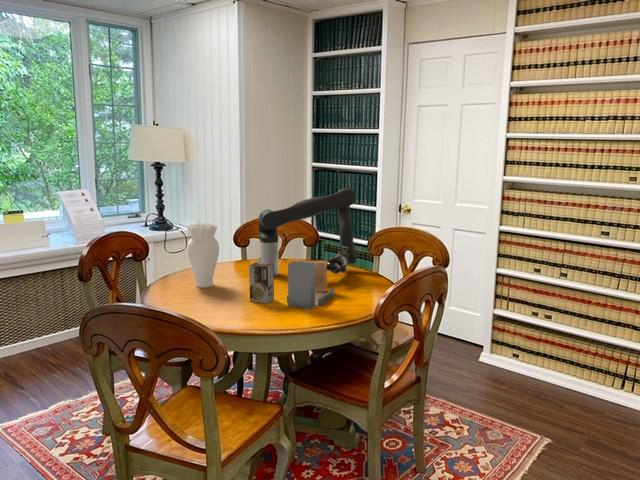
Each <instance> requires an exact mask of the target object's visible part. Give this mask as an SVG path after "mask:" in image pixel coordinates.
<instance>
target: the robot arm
mask: <svg viewBox="0 0 640 480" xmlns="http://www.w3.org/2000/svg"><path fill="white" fill-rule="evenodd" d="M356 200H357V194H356V192H355V191H354V190H353V189H351V188H341V189H338V190H337V192H335V193H332V194H329V195H328V194H327V195H322V196H315V197H310V198H307V199H304V200H303V199H302V200H301V201H299V202H296V203H294V204H292V205H290V206H288V207H286V208H283V209H279V210H271V209H264V210H263V211H260V213H259V215H258V235H259V250H260V251H259V252H260V253H259V254H260V255H259V256H258V263H271V264H274V277H276V276H278V275H279V236H278V235H279V234H278V231H277V230H278V229H277V228H279V227H281V226H284V225H287V224H288V223H291V222H297V221H301V220H305V219H309V218H313V217H315V216H319V215H321V214H324V213H326V212H329V211H331V210H333V209H337V214H338V223H339V224H338V226H339V245H340V246H343V247H347V249H348V250H338V251H337V255H335V256H334V257H331V259H329V261H327V272H331V273H332V274H335V275H337V274H340V273H343V274H345V273H346V272H347V271H348V265H349V264H350V265H353V264H355V263H357V261H358V254H357V252H356V251H357V250H356V249H355V244H354V229H353V224H352V220H351V214H350V207H351V206H353V204H354V203H355V202H356Z"/></svg>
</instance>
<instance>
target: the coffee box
mask: <svg viewBox="0 0 640 480" xmlns="http://www.w3.org/2000/svg"><path fill="white" fill-rule="evenodd" d="M248 273H249V274H248V278H249V279H248V281H249V302H253V303H254V302H255V303H263V304H264V303H265V304H270V303H271V302H273V301H274V300H275V276H274V264H271V263H259V261H258V262H257V261H255V262H253V263H251V264H249V265H248Z"/></svg>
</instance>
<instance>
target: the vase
mask: <svg viewBox="0 0 640 480" xmlns="http://www.w3.org/2000/svg"><path fill="white" fill-rule="evenodd" d="M217 229H218V226H217V225H216V224H215V223H211V224H210V223H208V222H206V223H204V224H202V223H200V222H197V223H194V224H189V225H188V226H187V230H188V232H189V235H190V237H191V238H190V239H189V240H188V242H187V243H186V244H187V246H186V247H187V248H186V251H187V257H188V260H189V263H190V266H191V269H192V272H193V275H194V278H195V286H196V287H197V286H199V287H198V288H210V287H213V286H214V275H215V271H216V266H217V264H218V259H219V254H220V245H219V241H218V239H216V238H215V235H216V232H217V231H216V230H217ZM209 286H210V287H209Z"/></svg>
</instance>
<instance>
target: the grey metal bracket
mask: <svg viewBox="0 0 640 480" xmlns="http://www.w3.org/2000/svg"><path fill="white" fill-rule="evenodd" d="M315 265H316V261H312V260H311V261H309V260H299V261H295V260H294V261H293V260H292V261H290V262H288V263H287V290H288V291H287V293H288V294H287V296H286V303H287V304H288V305H287V307H288V308H295V309H296V308H297V309H306V310H312V309H313V308H314V307H322V306H324V305H325V304H326V303H327V302H328V301H329V300H331V298H332V297H334V296H335V288H334V287H333V288H331V289H329V290H327V291H326V292H325V293H319V292H315Z"/></svg>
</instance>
